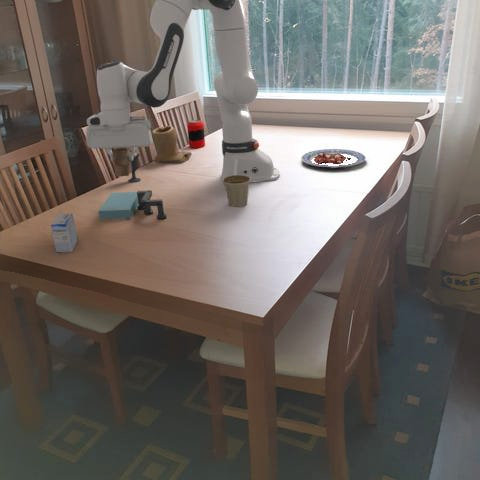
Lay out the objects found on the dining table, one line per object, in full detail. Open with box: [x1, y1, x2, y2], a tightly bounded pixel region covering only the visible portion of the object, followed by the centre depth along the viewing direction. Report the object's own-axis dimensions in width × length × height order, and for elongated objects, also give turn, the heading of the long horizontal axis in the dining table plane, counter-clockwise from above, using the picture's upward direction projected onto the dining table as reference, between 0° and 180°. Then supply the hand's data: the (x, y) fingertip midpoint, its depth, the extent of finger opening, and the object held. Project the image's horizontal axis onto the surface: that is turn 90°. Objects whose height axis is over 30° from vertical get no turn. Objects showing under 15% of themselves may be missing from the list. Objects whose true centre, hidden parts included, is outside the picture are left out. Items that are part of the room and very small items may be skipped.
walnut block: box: [111, 147, 132, 177], centre depth 164 cm, size 4×6×8 cm, turn 179°
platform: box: [97, 191, 139, 221], centre depth 171 cm, size 10×17×3 cm, turn 179°
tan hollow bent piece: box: [151, 125, 192, 163], centre depth 219 cm, size 15×12×15 cm
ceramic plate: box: [300, 148, 367, 168], centre depth 209 cm, size 26×26×3 cm
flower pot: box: [221, 175, 251, 208], centre depth 169 cm, size 9×9×9 cm
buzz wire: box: [136, 189, 167, 221], centre depth 165 cm, size 11×12×6 cm
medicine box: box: [50, 213, 79, 253], centre depth 144 cm, size 8×4×9 cm, turn 5°
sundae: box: [127, 147, 142, 183], centre depth 196 cm, size 7×7×15 cm
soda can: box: [186, 119, 206, 150], centre depth 240 cm, size 8×8×12 cm
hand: (122, 160), depth 164 cm, fingers closed on walnut block, 4 cm apart
